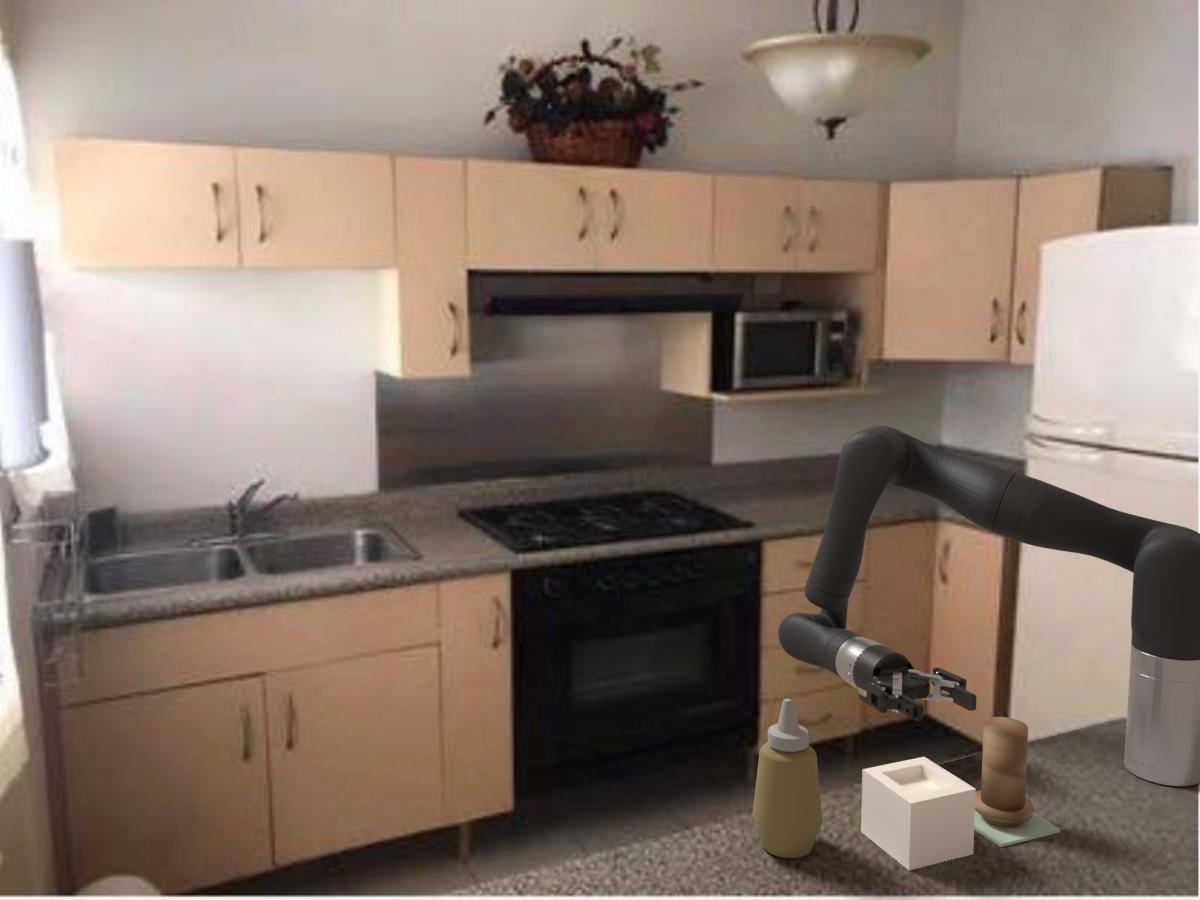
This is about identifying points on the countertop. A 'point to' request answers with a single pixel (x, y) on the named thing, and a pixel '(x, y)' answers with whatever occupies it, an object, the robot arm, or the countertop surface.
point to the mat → (1014, 830)
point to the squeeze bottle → (787, 789)
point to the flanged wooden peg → (1004, 773)
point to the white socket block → (918, 812)
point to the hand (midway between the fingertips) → (948, 708)
